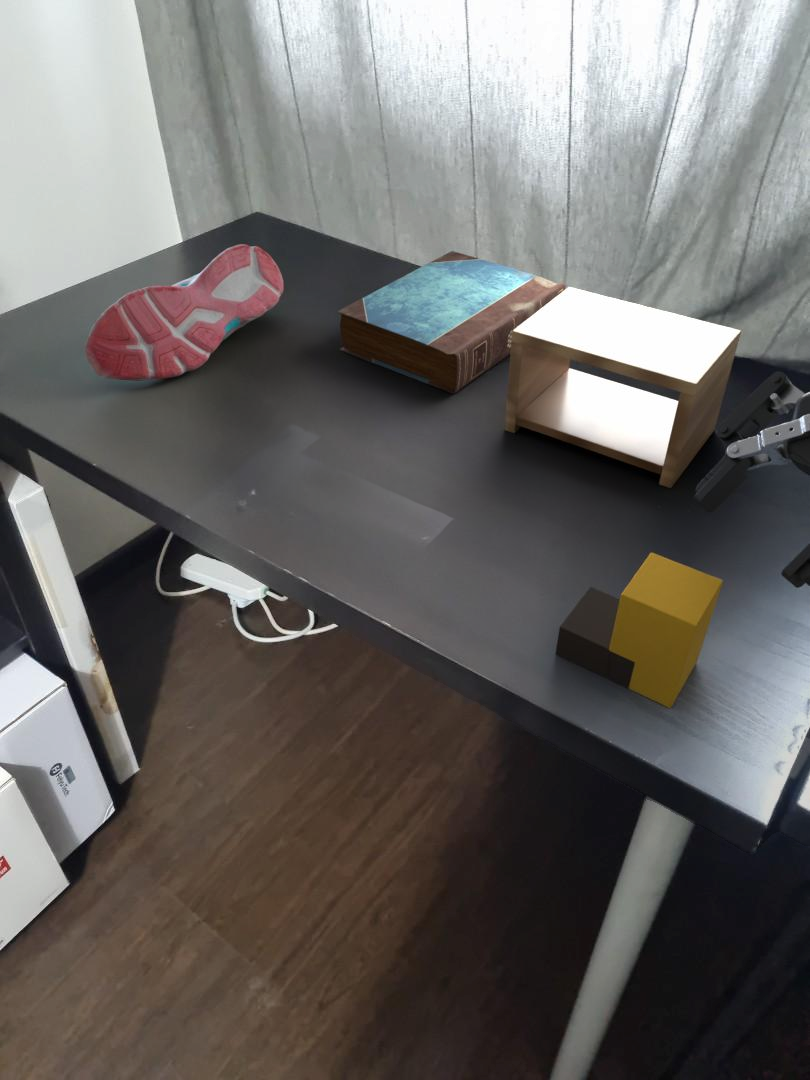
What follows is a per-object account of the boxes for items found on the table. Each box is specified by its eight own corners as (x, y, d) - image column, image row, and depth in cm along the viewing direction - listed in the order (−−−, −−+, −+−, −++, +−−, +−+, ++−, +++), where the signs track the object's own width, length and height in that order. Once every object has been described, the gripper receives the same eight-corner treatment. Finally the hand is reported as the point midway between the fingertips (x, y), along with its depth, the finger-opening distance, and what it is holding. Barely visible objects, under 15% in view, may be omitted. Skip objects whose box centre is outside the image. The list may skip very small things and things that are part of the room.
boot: (696, 662, 62) (723, 580, 56) (670, 709, 58) (696, 626, 53) (585, 613, 66) (600, 531, 60) (555, 654, 62) (568, 571, 57)
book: (456, 395, 91) (457, 354, 88) (337, 349, 100) (335, 310, 96) (561, 321, 105) (566, 283, 101) (449, 286, 113) (450, 250, 110)
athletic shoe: (266, 306, 111) (203, 232, 107) (300, 281, 104) (233, 201, 99) (133, 434, 99) (55, 357, 94) (160, 417, 91) (77, 332, 87)
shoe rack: (714, 430, 85) (741, 330, 78) (670, 488, 78) (696, 384, 71) (557, 381, 93) (568, 286, 86) (504, 430, 86) (512, 330, 78)
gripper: (825, 279, 55) (652, 465, 59) (1028, 377, 45) (803, 592, 49) (856, 336, 60) (695, 503, 64) (1045, 435, 50) (840, 626, 54)
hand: (742, 542), depth 56 cm, fingers open, 8 cm apart
